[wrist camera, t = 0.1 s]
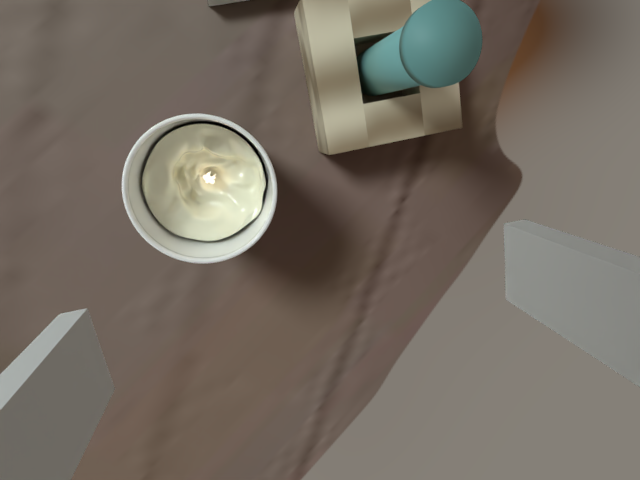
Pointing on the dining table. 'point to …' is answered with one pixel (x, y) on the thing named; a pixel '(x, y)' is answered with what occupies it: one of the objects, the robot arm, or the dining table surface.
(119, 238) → the dining table surface
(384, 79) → the plug
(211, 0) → the tray
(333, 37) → the beige socket block
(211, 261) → the candle holder
